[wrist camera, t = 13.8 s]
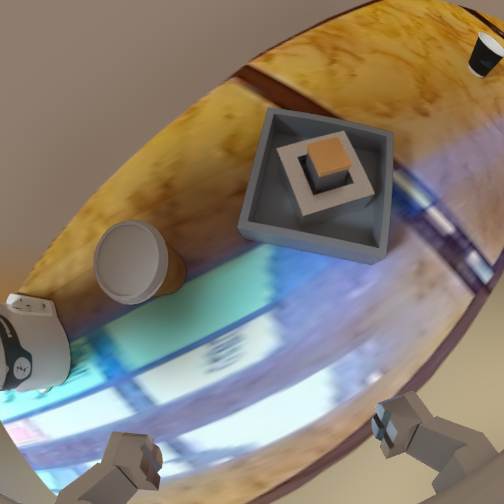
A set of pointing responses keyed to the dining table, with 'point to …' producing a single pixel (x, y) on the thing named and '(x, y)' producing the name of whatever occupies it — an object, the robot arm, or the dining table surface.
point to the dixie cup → (485, 55)
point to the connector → (326, 165)
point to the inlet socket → (327, 203)
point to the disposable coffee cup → (137, 263)
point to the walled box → (332, 231)
